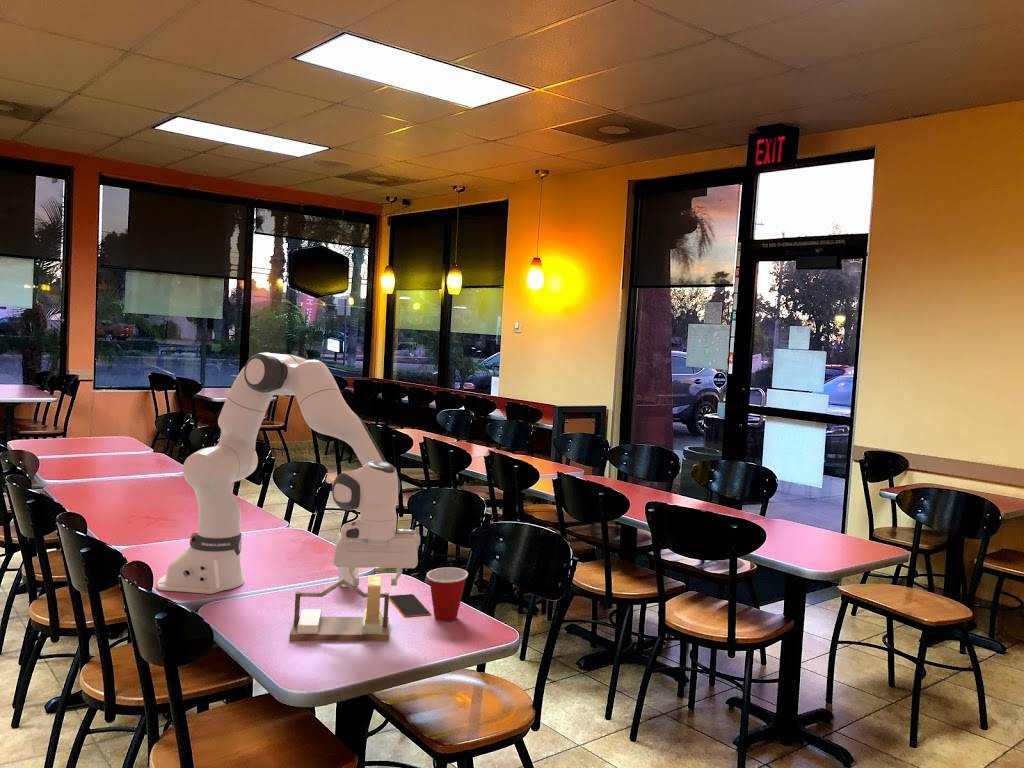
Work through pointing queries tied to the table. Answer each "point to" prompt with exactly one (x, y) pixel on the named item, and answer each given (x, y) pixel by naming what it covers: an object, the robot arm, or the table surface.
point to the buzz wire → (339, 621)
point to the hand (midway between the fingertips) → (374, 584)
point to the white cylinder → (346, 572)
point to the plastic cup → (446, 591)
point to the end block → (372, 626)
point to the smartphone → (409, 605)
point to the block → (309, 621)
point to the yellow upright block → (373, 600)
